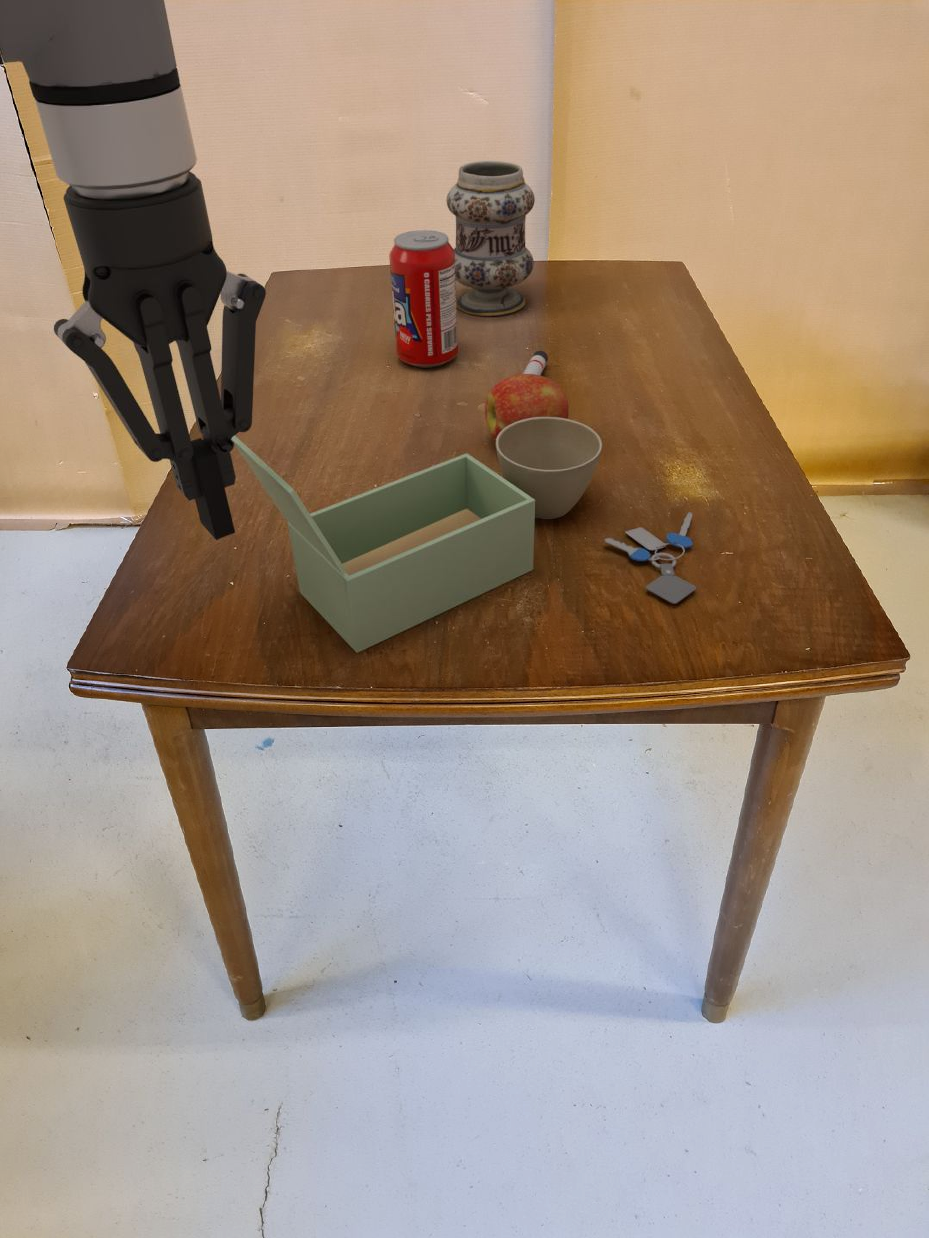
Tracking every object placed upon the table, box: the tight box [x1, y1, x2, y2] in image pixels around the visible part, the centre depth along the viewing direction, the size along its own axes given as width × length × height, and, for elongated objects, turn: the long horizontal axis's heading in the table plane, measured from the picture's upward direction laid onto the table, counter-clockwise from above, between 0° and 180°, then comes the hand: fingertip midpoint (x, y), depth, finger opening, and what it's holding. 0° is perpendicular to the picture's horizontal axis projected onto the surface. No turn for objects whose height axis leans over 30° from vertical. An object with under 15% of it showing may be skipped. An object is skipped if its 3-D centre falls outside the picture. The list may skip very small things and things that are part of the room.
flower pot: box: [495, 417, 603, 520], centre depth 88 cm, size 10×10×7 cm
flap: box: [231, 435, 347, 575], centre depth 68 cm, size 9×10×1 cm
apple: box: [484, 373, 570, 441], centre depth 97 cm, size 8×8×8 cm
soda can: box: [388, 229, 459, 369], centre depth 112 cm, size 8×8×15 cm
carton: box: [286, 453, 536, 654], centre depth 79 cm, size 18×10×8 cm, turn 126°
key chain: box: [604, 511, 697, 605], centre depth 83 cm, size 14×8×1 cm, turn 170°
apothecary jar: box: [446, 160, 536, 317], centre depth 124 cm, size 12×12×18 cm
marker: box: [522, 350, 549, 376], centre depth 108 cm, size 15×2×2 cm, turn 164°
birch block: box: [342, 509, 481, 576], centre depth 80 cm, size 4×14×4 cm, turn 127°
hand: (217, 527), depth 66 cm, fingers closed
